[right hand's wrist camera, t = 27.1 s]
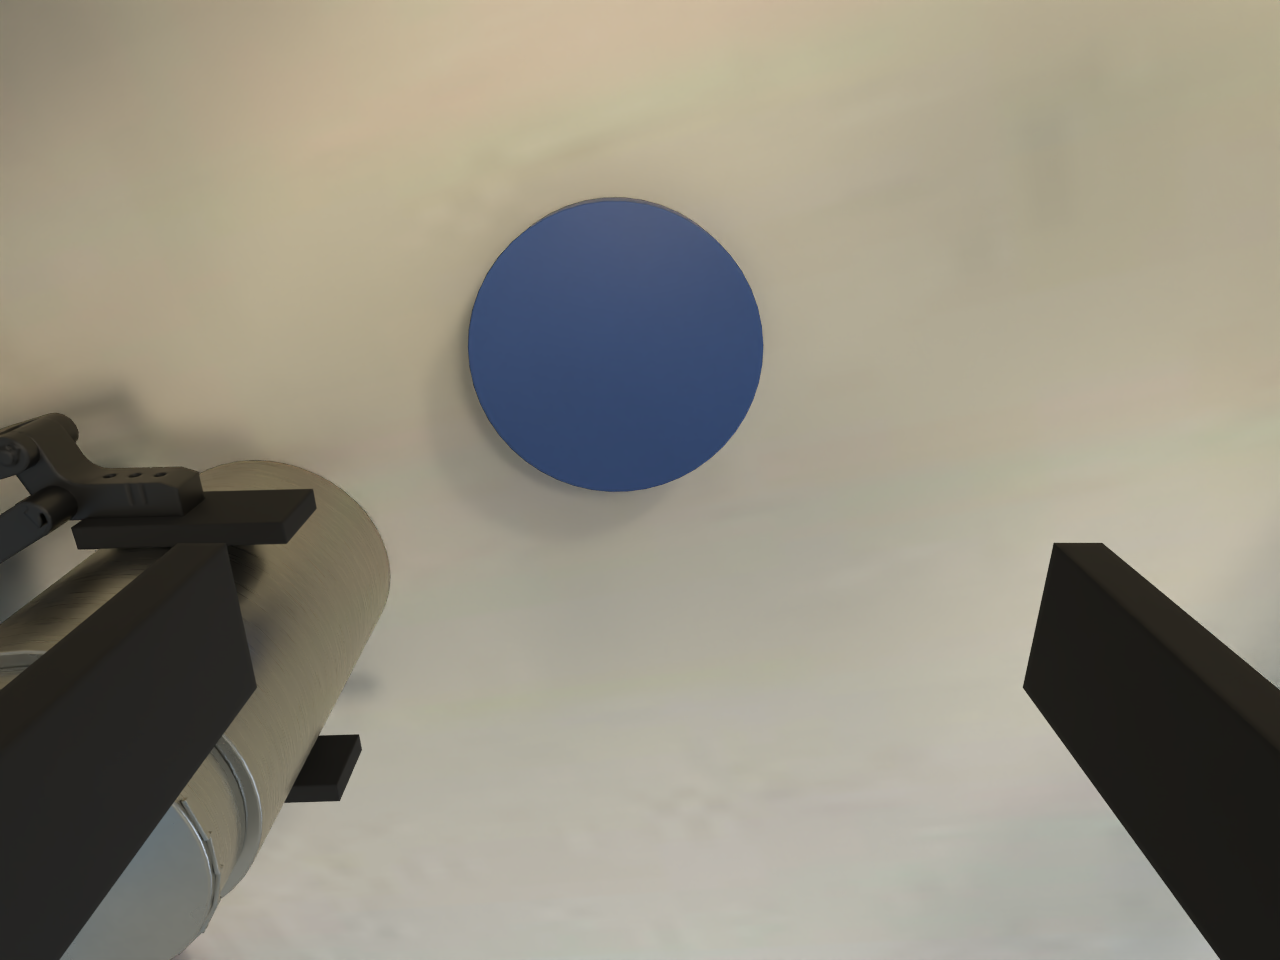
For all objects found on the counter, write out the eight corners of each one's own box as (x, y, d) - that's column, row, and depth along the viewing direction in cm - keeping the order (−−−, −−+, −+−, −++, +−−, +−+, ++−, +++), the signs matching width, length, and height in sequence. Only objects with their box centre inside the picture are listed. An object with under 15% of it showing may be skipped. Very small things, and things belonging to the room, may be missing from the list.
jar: (222, 683, 36) (-37, 1030, 22) (112, 494, 33) (-282, 761, 18) (424, 631, 36) (292, 955, 21) (334, 432, 32) (102, 660, 18)
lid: (751, 186, 29) (761, 189, 27) (755, 460, 33) (764, 481, 31) (458, 208, 29) (445, 213, 27) (498, 479, 33) (490, 501, 31)
